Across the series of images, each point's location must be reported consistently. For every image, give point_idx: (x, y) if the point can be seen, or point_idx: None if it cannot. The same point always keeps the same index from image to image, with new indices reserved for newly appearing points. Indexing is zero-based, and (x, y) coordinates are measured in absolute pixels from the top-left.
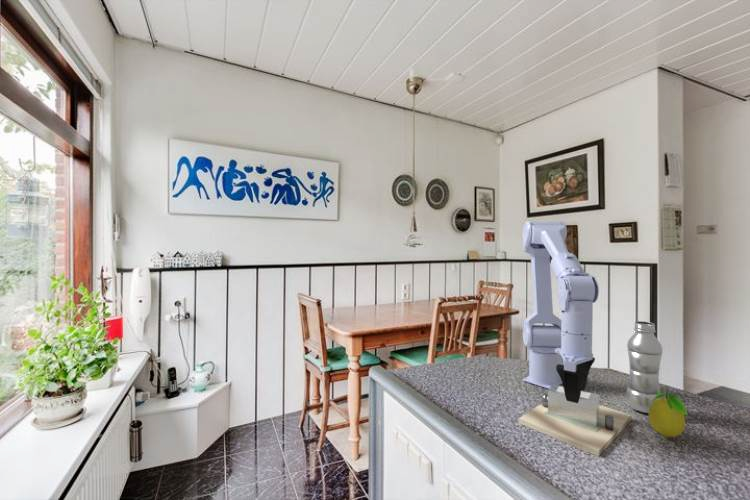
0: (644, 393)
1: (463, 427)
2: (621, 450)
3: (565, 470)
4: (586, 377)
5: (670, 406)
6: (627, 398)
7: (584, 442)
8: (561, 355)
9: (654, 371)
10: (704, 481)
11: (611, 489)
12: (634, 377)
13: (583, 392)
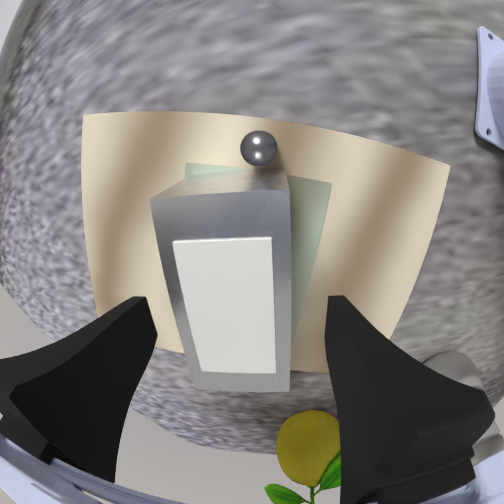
0: None
1: (11, 52)
2: (172, 358)
3: (29, 278)
4: (336, 402)
5: (292, 480)
6: (442, 367)
7: (106, 306)
8: (25, 484)
9: None
10: (183, 427)
11: (51, 336)
12: None
13: (264, 351)
